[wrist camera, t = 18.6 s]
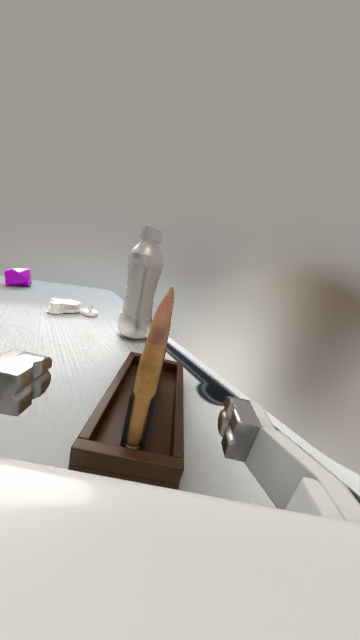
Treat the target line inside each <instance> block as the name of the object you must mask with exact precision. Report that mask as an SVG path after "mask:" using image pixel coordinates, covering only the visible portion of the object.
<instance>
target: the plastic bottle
mask: <svg viewBox="0 0 360 640" xmlns="http://www.w3.org/2000/svg"><path fill="white" fill-rule="evenodd" d="M161 237H162V231H160V230H158V229H155V228H152V227H148V226H142V229H141V234H140V238H141V241H140V242H139V243H138V244H137V245H136V246H135V247H134V248H133V249H132V250H131V252H130V254H129V256H128V280H127V290H126V296H125V299H124V303H123V308H122V311H121V313H120V316H119V319H118V329H119V331H120V333H121V334H122V335H123V336H126V337H129V338H134V339H141V338H144V337H146V336H147V335H148V333H149V329H150V326H151V323H152V316H151V315H152V307H153V299H154V295H155V294H154V293H155V291H156V287H157V284H158V281H159V278H160V275H161V272H162V269H163V266H164V262H163V257H162V254H161V251H160V249H159V243H161Z"/></svg>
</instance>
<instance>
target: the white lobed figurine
mask: <svg viewBox="0 0 360 640" xmlns="http://www.w3.org/2000/svg"><path fill="white" fill-rule="evenodd" d="M80 308H81V307H80V302H78V301H75V300H69V299H58V298H51V302H50V304H49V307H48V310H47V312H48V313H52V314H62V313H78V312H79V311H82V314H83V315H85V316H90V317H94V316H97V314H98V311H96V310H94V309H93V306H88V309H80Z"/></svg>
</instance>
